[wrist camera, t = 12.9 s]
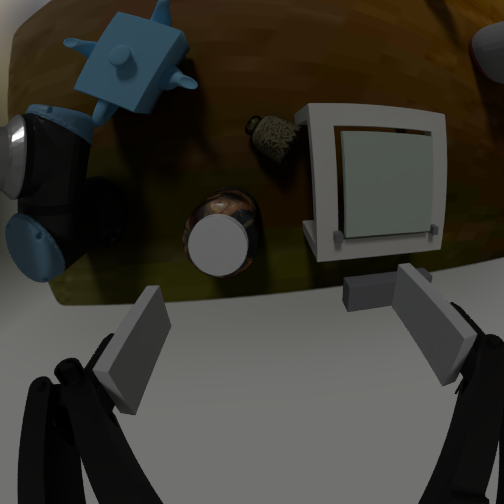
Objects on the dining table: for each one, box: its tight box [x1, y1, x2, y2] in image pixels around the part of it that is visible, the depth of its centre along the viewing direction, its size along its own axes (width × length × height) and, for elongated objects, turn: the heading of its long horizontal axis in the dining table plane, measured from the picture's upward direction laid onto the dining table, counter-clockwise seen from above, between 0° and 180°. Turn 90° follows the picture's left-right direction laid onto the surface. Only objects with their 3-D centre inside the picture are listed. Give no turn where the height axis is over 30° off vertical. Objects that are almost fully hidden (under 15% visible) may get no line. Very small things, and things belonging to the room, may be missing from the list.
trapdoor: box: [340, 131, 433, 312], centre depth 33 cm, size 24×14×4 cm, turn 6°
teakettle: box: [63, 0, 198, 127], centre depth 32 cm, size 19×19×15 cm
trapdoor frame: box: [294, 103, 447, 262], centre depth 39 cm, size 22×22×16 cm
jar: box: [183, 187, 261, 278], centre depth 43 cm, size 12×12×15 cm
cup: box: [245, 116, 302, 165], centre depth 42 cm, size 8×7×8 cm
